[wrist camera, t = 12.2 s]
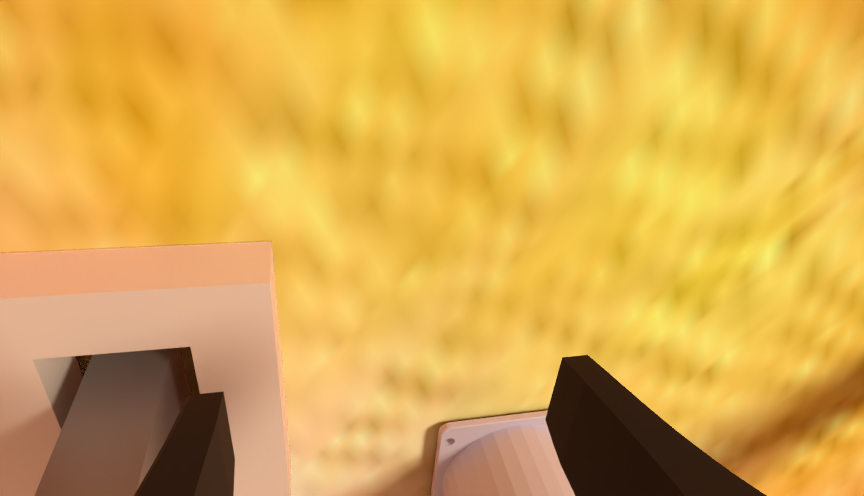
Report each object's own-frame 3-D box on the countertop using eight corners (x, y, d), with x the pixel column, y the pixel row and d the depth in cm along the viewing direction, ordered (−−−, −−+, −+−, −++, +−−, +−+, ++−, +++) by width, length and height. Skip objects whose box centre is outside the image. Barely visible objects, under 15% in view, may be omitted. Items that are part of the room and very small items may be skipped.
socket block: (290, 458, 26) (290, 507, 24) (50, 489, 24) (28, 546, 22) (271, 240, 20) (269, 282, 18) (-59, 255, 18) (-104, 305, 16)
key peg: (176, 330, 21) (133, 505, 15) (196, 423, 24) (166, 602, 18) (99, 336, 20) (24, 521, 15) (129, 431, 23) (76, 618, 17)
